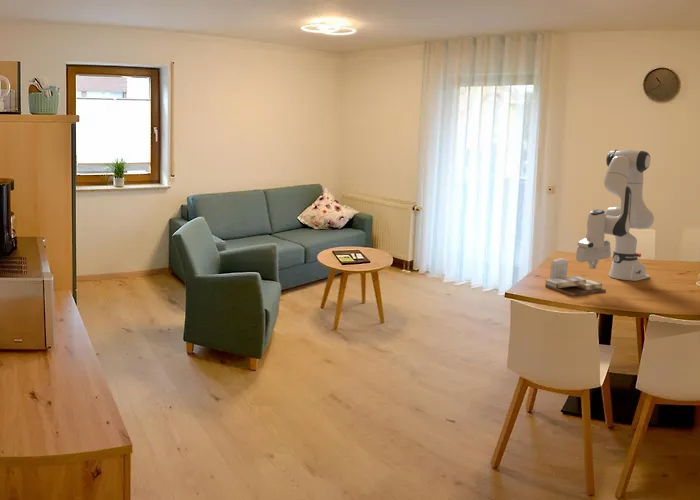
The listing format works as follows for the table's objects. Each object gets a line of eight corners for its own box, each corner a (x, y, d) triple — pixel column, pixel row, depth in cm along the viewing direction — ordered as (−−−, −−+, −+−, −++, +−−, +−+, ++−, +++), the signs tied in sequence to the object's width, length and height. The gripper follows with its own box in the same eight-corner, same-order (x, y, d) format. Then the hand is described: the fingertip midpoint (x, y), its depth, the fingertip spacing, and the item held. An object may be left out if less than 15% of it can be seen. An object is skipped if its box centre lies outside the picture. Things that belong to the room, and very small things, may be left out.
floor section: (577, 282, 370) (577, 276, 370) (605, 291, 353) (606, 284, 352) (545, 286, 361) (545, 279, 360) (572, 296, 343) (573, 289, 343)
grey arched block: (561, 278, 378) (563, 256, 376) (567, 280, 375) (569, 258, 372) (548, 281, 373) (550, 258, 370) (554, 282, 369) (556, 260, 367)
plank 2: (588, 284, 363) (589, 279, 362) (601, 288, 355) (602, 283, 354) (573, 286, 358) (573, 281, 358) (586, 290, 350) (586, 285, 350)
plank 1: (573, 286, 357) (573, 281, 357) (586, 284, 349) (585, 279, 349) (558, 288, 353) (557, 283, 353) (570, 286, 345) (569, 281, 345)
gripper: (605, 239, 357) (603, 264, 360) (575, 242, 349) (573, 269, 352) (614, 241, 352) (612, 267, 355) (584, 245, 343) (582, 272, 346)
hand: (592, 268), depth 353 cm, fingers closed
